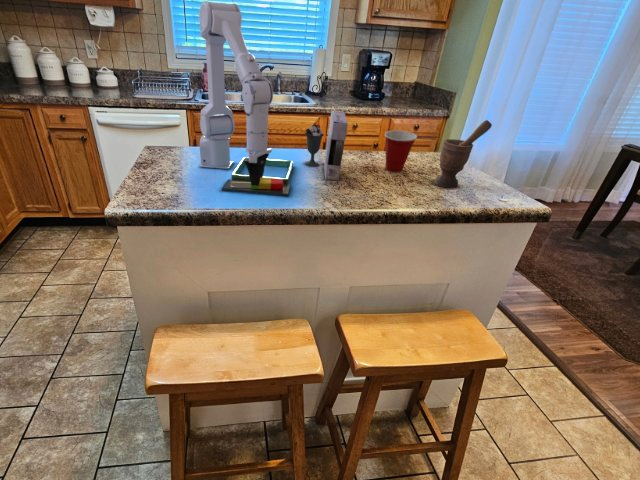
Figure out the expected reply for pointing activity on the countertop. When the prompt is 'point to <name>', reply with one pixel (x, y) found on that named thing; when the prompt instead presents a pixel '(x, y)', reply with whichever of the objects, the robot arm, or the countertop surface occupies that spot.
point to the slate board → (247, 189)
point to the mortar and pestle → (457, 156)
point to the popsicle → (266, 184)
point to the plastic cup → (398, 149)
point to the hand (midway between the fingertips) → (256, 181)
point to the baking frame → (268, 162)
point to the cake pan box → (335, 145)
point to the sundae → (313, 142)
